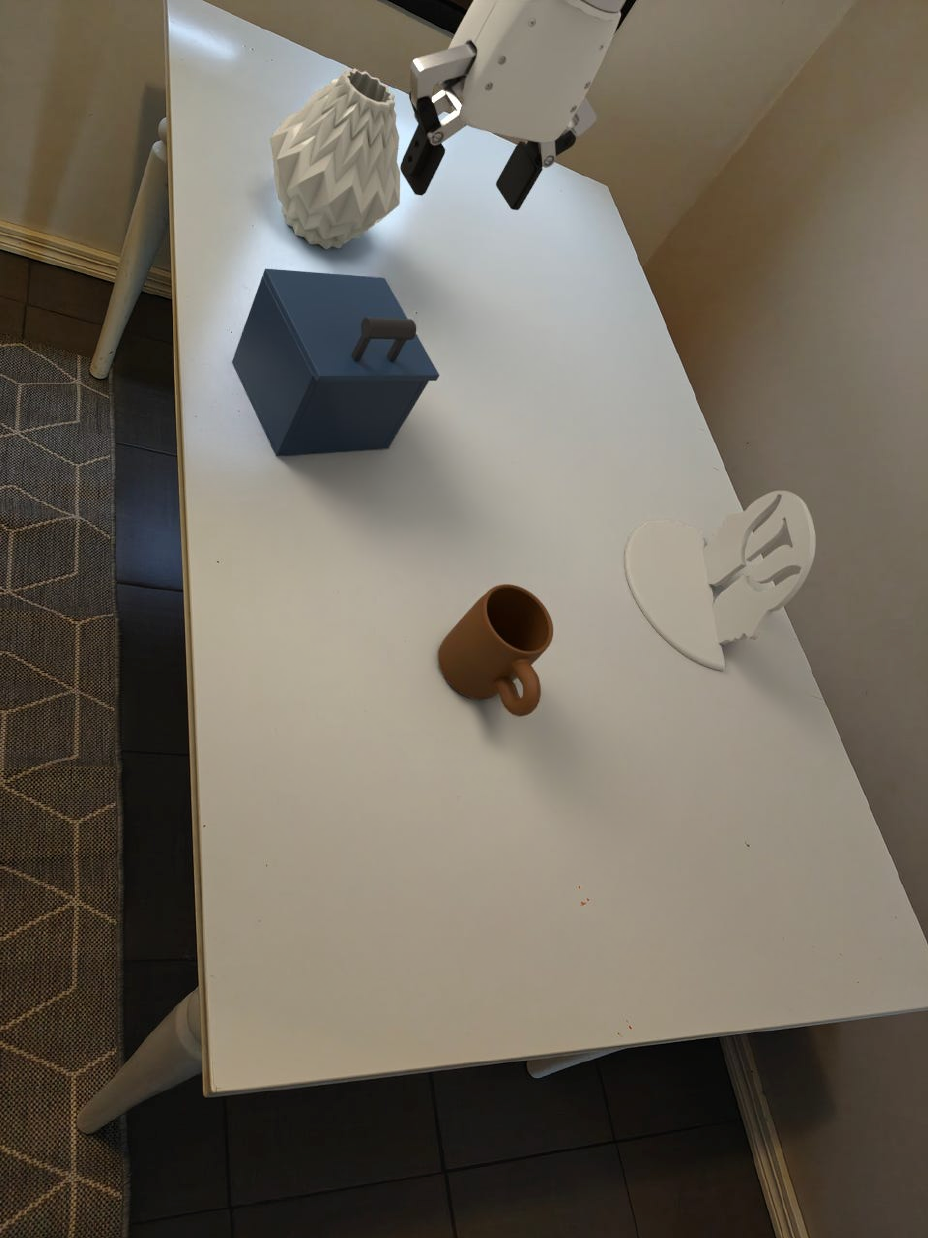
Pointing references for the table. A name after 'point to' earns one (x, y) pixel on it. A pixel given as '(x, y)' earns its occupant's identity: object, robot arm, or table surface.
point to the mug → (499, 648)
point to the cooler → (312, 392)
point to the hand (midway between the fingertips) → (460, 190)
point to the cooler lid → (350, 327)
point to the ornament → (718, 575)
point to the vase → (338, 160)
